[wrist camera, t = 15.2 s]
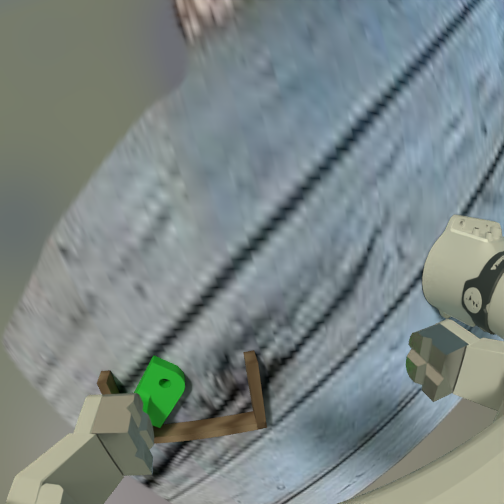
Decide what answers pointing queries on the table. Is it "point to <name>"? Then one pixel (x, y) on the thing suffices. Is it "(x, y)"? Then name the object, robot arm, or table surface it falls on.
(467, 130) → the table surface
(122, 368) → the table surface
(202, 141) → the table surface
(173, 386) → the mechanical part
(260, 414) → the walnut bay
